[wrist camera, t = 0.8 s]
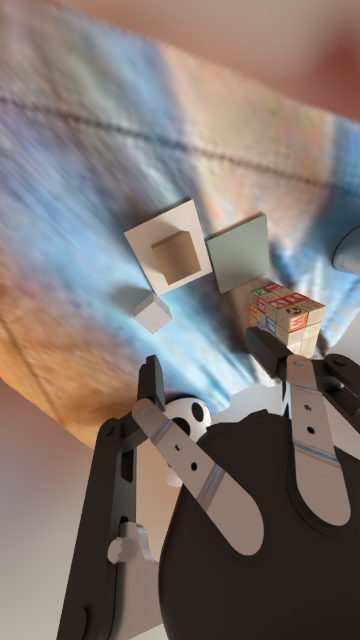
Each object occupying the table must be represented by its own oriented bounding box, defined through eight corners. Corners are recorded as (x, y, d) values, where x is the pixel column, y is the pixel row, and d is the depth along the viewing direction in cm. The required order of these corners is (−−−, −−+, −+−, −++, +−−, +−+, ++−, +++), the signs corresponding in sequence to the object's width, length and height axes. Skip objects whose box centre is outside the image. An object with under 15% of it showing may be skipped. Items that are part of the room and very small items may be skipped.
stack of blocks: (270, 347, 46) (305, 382, 36) (250, 354, 46) (280, 391, 36) (275, 282, 35) (328, 306, 24) (248, 291, 35) (291, 318, 24)
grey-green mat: (264, 214, 27) (266, 213, 26) (267, 272, 33) (269, 272, 32) (206, 241, 27) (207, 241, 27) (219, 293, 33) (221, 294, 33)
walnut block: (181, 230, 25) (189, 231, 20) (192, 262, 28) (201, 270, 23) (151, 244, 26) (151, 249, 21) (165, 275, 29) (168, 285, 24)
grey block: (153, 291, 31) (154, 301, 27) (169, 307, 33) (171, 319, 29) (135, 306, 32) (133, 318, 28) (152, 321, 34) (152, 334, 30)
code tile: (191, 199, 24) (192, 199, 23) (211, 270, 30) (212, 271, 30) (124, 232, 25) (123, 232, 24) (157, 295, 31) (157, 296, 31)
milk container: (209, 409, 59) (230, 472, 44) (168, 424, 60) (174, 492, 44) (198, 385, 49) (219, 455, 34) (149, 403, 50) (148, 480, 35)
